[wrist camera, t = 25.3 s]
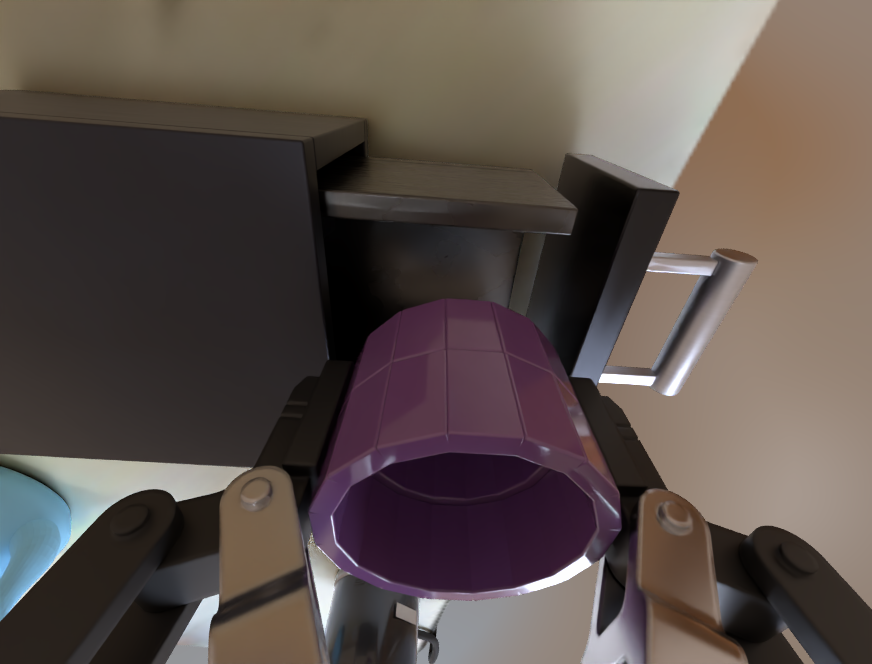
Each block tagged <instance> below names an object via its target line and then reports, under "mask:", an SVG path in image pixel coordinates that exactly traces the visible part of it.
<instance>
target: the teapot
mask: <svg viewBox="0 0 872 664" xmlns="http://www.w3.org/2000/svg"><path fill="white" fill-rule="evenodd" d="M70 535H71V515H70V510H69V507H68V506H67V504H66V503H65V502H64V500H63V499H62V498H61V497H60V496H59V495H58V494H56V493H55V492H54V491H52V490H51V489H50V488H48V487H47V486H45V485H43V484H42V483H40V482H38V481H36V480H34V479H32V478H30V477H28V476H26V475H24V474H21V473H19V472H16V471H13V470H11V469H8V468H5V467H1V466H0V621H1V620H2V619H3V618H4V617H5V616H6V615H7V614H8V613H9V611H10V610H11V609H12V607H13V606H14V605H15V604H16V603H17V601H18V600H19V599H20V597H21V596H22V595H23V594H24V593H25V592H26V591H27V589H28V588H29V587H30V586H31V585H32V584H33V583H34V582H35V581H36V580H37V579H38V578H39V577H40V576H41V575H42V574H43V573H44V572H45V571H46V570H47V569H48V567H49V566H50V565H51V563H52V562H53V561H54V559H55V557H56V556H57V555H58V554H59V553H60V551H61V550H62V549H63V548H64V547H65V546H66V544H67V543H68V541H69V538H70Z"/></svg>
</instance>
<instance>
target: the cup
mask: <svg viewBox="0 0 872 664" xmlns="http://www.w3.org/2000/svg"><path fill="white" fill-rule="evenodd" d="M308 516H309V520H310V525H311V529H312V534H313V538H314V542H315V543H316V546H317V547H318V548H319V549H320V550H321V551H322V552H323V553H324V554H325V555H326V556H327V557H328V558H329V559H330V560H331V561H332V562H333V563H334V564H335V565H336V566H337V567H338V568H339V569H342V570H343V571H344V572H346V573H349V574H351V575H353V576H355V577H357V578H359V579H361V580H363V581H365V582H367V583H370V584H372V585H374V586H376V587H378V588H381V589H384V590H389V591H393V592H398V593H402V594H406V595H411V596H415V597H420V598H427V599H444V600H466V601H472V600H475V601H476V600H485V599H493V598H501V597H510V596H518V595H521V594H526V593H529V592H532V591H536V590H539V589H542V588H545V587H548V586H551V585H554V584H558V583H560V582H564V581H565V580H568V579H570V578H571V577H573V576H575V575H576V574H578V573H579V572H581V571H583V570H584V569H586V568H587V567H589V566H590V565H592V564H594V563H595V562H597V561H599V560H600V559H601V558H602V557H603V556H604V555H605V553H606V552H607V550H608V549H609V548H610V546H611V545H612V543H613V542H614V540H615V539H616V537H617V536H618V534H619V533H620V531H621V530H622V515H621V503H620V493H619V490H618V488H617V486H616V484H615V482H614V479H613V477H612V475H611V473H610V470H609V468H608V466H607V464H606V461H605V459H604V457H603V455H602V452H601V450H600V448H599V446H598V444H597V441H596V439H595V437H594V435H593V432H592V430H591V428H590V426H589V423H588V421H587V419H586V417H585V415H584V412H583V410H582V408H581V406H580V403H579V401H578V399H577V397H576V395H575V392H574V390H573V388H572V386H571V383H570V381H569V379H568V377H567V374H566V372H565V370H564V368H563V365H562V363H561V361H560V359H559V357H558V354H557V352H556V350H555V348H554V346H553V345H552V344H551V343H550V342H549V340H548V339H547V338H546V337H545V336H544V334H543V333H542V332H541V331H540V330H539V328H538V327H537V326H536V325H535V324H534V322H532V321H531V320H530V319H529V318H527V317H525V316H523V315H521V314H518V313H516V312H514V311H512V310H510V309H508V308H506V307H504V306H501V305H499V304H497V303H495V302H490V301H480V300H469V299H452V298H447V299H446V300H445V299H440V300H436V301H432V302H429V303H425V304H422V305H418V306H415V307H411V308H408V309H404V310H402V311H399V312H398V313H397V314H395V315H394V316H393V317H392V318H390V319H389V320H388V321H386V322H385V323H384V324H383V325H381V326H380V327H379V328H377V329H376V330H375V331H374V332H372V333H371V334H370V335H369V337H368V338H367V340H366V342H365V344H364V346H363V348H362V350H361V352H360V354H359V356H358V358H357V360H356V363H355V365H354V368H353V371H352V374H351V377H350V380H349V383H348V386H347V389H346V392H345V396H344V399H343V402H342V405H341V408H340V411H339V414H338V417H337V421H336V423H335V426H334V429H333V433H332V436H331V439H330V442H329V445H328V448H327V451H326V454H325V457H324V460H323V463H322V467H321V470H320V473H319V476H318V479H317V482H316V485H315V488H314V491H313V494H312V497H311V501H310V504H309V507H308Z"/></svg>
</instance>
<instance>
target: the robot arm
mask: <svg viewBox="0 0 872 664" xmlns="http://www.w3.org/2000/svg"><path fill="white" fill-rule="evenodd" d="M353 368H354V362H353V361H338V360H327V361H326V363H325V365H324V367H323V370H322V372H321V374H320V377H315V376H307V377H306V378H305V379H303V380H302V381H301V382H300V383H299V384H298V385H297V386H296V387H294V389H293V391H292V393H291V395H290V397H289V399H288V401H287V405H285V407H284V409H283V411H282V413H281V417H279V418H278V420H277V422H276V424H275V426H274V428H273V430H272V432H271V434H270V436H269V438H268V440H267V442H266V444H265V446H264V448H263V450H262V452H261V454H260V456H259V458H258V460H257V462H256V464H255V465H254V467H253V468H252V469H250V470H248V471H246V472H244V473H242V474H241V475H239V476H238V477H237V478H235V479H234V480H233V481H232V482H231V483H230V484H229V485H228V487H227V488H226V489H225V490H222V491H220V492H217V493H213V494H209V495H205V496H201V497H196V498H192V499H188V500H183V501H179V502H176V501H175V499H174V498H173V496H172V495H171V494H170V493H168V492H166V491H163V490H158V489H151V490H144V491H140V492H137V493H134V494H132V495H129V496H127V497H125V498H123V499H121V500H119V501H118V502H116V503H115V504H113V505H112V506H111V507H109V508H108V509H107V510H106V511H105V512H103V513H102V514H101V515H100V516H99V517H98V518H97V519H96V521H95V522H94V523H93V524H92V525H91V526H90V527H89V528H88V529H87V530H86V531H85V532H84V533H83V534H82V535H81V536H80V537H79V539H78V540H77V541H76V542H75V543H74V544H73V545H72V546H71V547H70V548H69V549H68V550H67V551H66V552H65V553H64V554H63V556H62V557H61V558H60V559H59V560H58V561H57V562H56V563H55V564H54V565H53V566H52V567H51V568H50V569H49V570H48V571H47V572H46V574H45V575H44V576H43V577H42V578H41V579H40V580H39V581H38V582H37V583H36V584H35V585H34V586H33V587H32V588H31V589H30V590H29V592H28V593H27V594H26V595H25V596H24V597H23V598H22V599H21V600H20V601H19V602H18V603H17V604H16V605H15V606H14V607H13V608H12V610H11V611H10V612H9V613H8V614H7V615H6V616H5V617H4V618H3V619H2V620H1V621H0V664H165V663H166V661H167V660H168V658H169V656H170V655H171V653H172V651H173V649H174V648H175V646H176V644H177V642H178V641H179V639H180V637H181V636H182V634H183V632H184V630H185V629H186V627H187V625H188V624H189V622H190V620H191V618H192V617H193V615H194V613H195V612H196V610H197V608H198V606H199V605H200V603H201V601H202V599H204V598H207V597H210V596H214V595H217V594H219V608H218V611H217V613H216V614H215V615H214V616H213V618H212V620H211V624H210V631H209V646H208V664H416V661H417V639H418V638H419V639H422V640H426V641H428V642H430V647H429V656H428V660H429V663H430V664H434V663H435V661H436V659H437V656H438V653H439V643H438V640H437V639H436V633H437V627H436V629H435V630H434V632H433V634H431V633H428V632H425V631H421V630H418V620H419V597H415V596H411V595H406V594H402V593H398V592H393V591H389V590H384V589H381V588H378V587H376V586H374V585H372V584H370V583H367V582H365V581H363V580H361V579H359V578H357V577H355V576H353V575H351V574H349V573H346V572H344V571H343V570H342V569H340V570H339V571H338V573H337V575H336V580H335V584H334V594H333V598H332V603H331V607H330V612H329V616H328V620H327V625H326V629H325V634H324V630H323V625H322V619H321V614H320V609H319V603H318V598H317V592H316V587H315V582H314V576H313V571H312V566H311V560H310V555H309V549H308V541H309V538H310V535H311V531H312V529H311V525H310V520H309V516H308V507H309V504H310V501H311V497H312V494H313V491H314V488H315V485H316V482H317V479H318V476H319V473H320V470H321V467H322V463H323V460H324V457H325V454H326V451H327V448H328V445H329V442H330V439H331V436H332V433H333V429H334V426H335V423H336V421H337V417H338V414H339V411H340V408H341V405H342V402H343V399H344V396H345V392H346V389H347V386H348V383H349V380H350V377H351V374H352V371H353ZM568 379H569V381H570V383H571V386H572V388H573V390H574V392H575V395H576V397H577V399H578V401H579V403H580V406H581V408H582V410H583V412H584V415H585V417H586V419H587V421H588V423H589V426H590V428H591V430H592V432H593V435H594V437H595V439H596V441H597V444H598V446H599V448H600V450H601V452H602V455H603V457H604V459H605V461H606V464H607V466H608V468H609V470H610V473H611V475H612V477H613V479H614V482H615V484H616V486H617V488H618V490H619V493H620V503H621V515H622V530H621V531H620V533H619V534H618V536H617V537H616V539H615V540H614V542H613V543H612V545H611V546H610V548H609V549H608V550H607V552H606V553H605V555H604V556H603V557H602V558H601V559H600V560H599V565H598V573H597V580H596V588H595V596H594V604H593V611H592V619H591V626H590V633H589V639H588V643H587V646H586V649H585V652H584V654H583V657H582V660H581V663H580V664H803V662H802V661H801V659H800V658H799V657H798V655H797V654H796V652H795V651H794V650H793V648H792V647H791V645H790V644H789V643H788V641H787V640H786V638H785V637H784V636H783V634H782V633H781V632H783V631H784V630H786V629H787V628H789V629H790V630H791V632H792V633H793V634H794V636H795V637H796V639H797V640H798V641H799V643H800V644H801V645H802V647H803V648H804V649H805V650H806V652H807V653H808V655H809V656H810V658H811V659H812V660H813V662H814V663H815V664H872V609H871V608H870V607H869V606H868V605H867V604H866V603H865V602H864V601H863V600H862V599H861V598H860V596H859V595H858V594H857V593H856V592H855V591H854V590H853V589H852V588H851V587H850V585H849V584H848V583H847V582H846V581H845V580H844V579H843V578H842V577H841V576H840V575H839V574H838V573H837V571H836V570H835V569H834V568H833V567H832V566H831V565H830V564H829V563H828V562H827V561H826V560H825V558H824V557H822V555H821V554H820V553H819V552H818V551H816V550H815V549H814V548H813V547H812V546H811V545H809V544H808V543H807V542H805V541H804V540H802V539H801V538H799V537H798V536H796V535H794V534H792V533H790V532H788V531H786V530H784V529H781V528H778V527H774V526H761V527H758V528H757V529H755V530H754V531H753V532H752V533H751V534H750V535H749V536H747V535H743V534H741V533H737V532H735V531H732V530H729V529H726V528H724V527H721V526H718V525H715V524H712V523H709V522H707V521H705V519H704V517H703V516H702V515H701V513H700V512H699V511H698V510H697V509H696V508H695V507H694V506H693V505H692V504H691V503H690V502H688V501H687V500H686V499H684V498H682V497H681V496H679V495H677V494H675V493H673V492H671V491H668V489H667V488H666V486H665V484H664V482H663V481H662V479H661V478H660V475H659V474H658V472H657V470H656V468H655V466H654V465H653V463H652V461H651V459H650V458H649V456H648V454H647V452H646V451H645V449H644V447H643V445H642V444H641V442H640V440H638V437H637V435H636V433H635V431H634V430H633V428H631V425H630V423H629V421H628V419H627V417H626V415H625V414H624V412H623V410H622V409H621V408H620V407H619V406H618V405H617V404H616V403H614V402H613V401H612V400H611V399H610V398H609V397H607V396H601V395H600V393H599V391H598V389H597V387H596V385H595V383H594V382H593V380H592V379H590V378H582V377H568Z"/></svg>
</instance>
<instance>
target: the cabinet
mask: <svg viewBox="0 0 872 664" xmlns="http://www.w3.org/2000/svg"><path fill="white" fill-rule="evenodd" d="M341 155H354V156H367V157H368V126H367V119H365V118H353V117H341V116H329V115H317V114H305V113H293V112H280V111H268V110H256V109H244V108H232V107H219V106H207V105H195V104H183V103H171V102H159V101H146V100H134V99H122V98H110V97H98V96H86V95H73V94H61V93H49V92H37V91H25V90H0V454H13V455H31V456H49V457H67V458H85V459H104V460H122V461H140V462H158V463H176V464H194V465H212V466H230V467H248V468H253V467H254V465H255V464H256V462H257V460H258V458H259V456H260V454H261V452H262V450H263V448H264V446H265V444H266V442H267V440H268V438H269V436H270V434H271V432H272V430H273V428H274V426H275V424H276V422H277V420H278V418H279V417H281V413H282V411H283V409H284V407H285V405H287V401H288V399H289V397H290V395H291V393H292V391H293V389H294V387H296V386H297V385H298V384H299V383H300V382H301V381H302V380H303V379H305V378H306V377H307V376H315V377H320V374H321V372H322V370H323V367H324V365H325V363H326V361H327V360H336V351H335V342H334V332H333V323H332V314H331V305H330V295H329V286H328V277H327V267H326V258H325V249H324V239H323V230H322V221H321V211H320V202H319V193H318V184H317V174H316V171H317V170H319V169H320V168H322V167H323V166H325V165H327V164H328V163H330V162H332V161H333V160H335V159H336V158H338V157H340V156H341Z"/></svg>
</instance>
